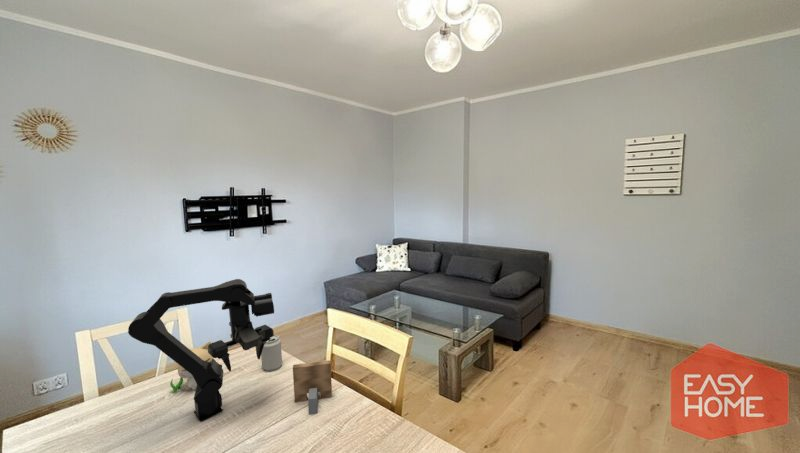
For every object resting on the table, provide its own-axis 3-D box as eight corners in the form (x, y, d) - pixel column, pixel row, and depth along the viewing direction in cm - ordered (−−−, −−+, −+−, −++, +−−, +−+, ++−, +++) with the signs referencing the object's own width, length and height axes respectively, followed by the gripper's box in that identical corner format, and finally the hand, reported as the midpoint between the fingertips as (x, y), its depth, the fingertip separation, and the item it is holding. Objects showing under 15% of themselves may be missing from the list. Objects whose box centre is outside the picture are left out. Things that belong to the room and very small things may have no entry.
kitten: (169, 400, 110) (165, 358, 108) (172, 384, 118) (168, 345, 116) (220, 385, 117) (217, 346, 115) (219, 372, 126) (216, 335, 124)
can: (268, 374, 124) (266, 344, 122) (258, 367, 128) (256, 338, 127) (286, 365, 130) (284, 336, 128) (275, 359, 134) (273, 331, 133)
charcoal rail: (317, 413, 102) (316, 398, 102) (308, 414, 102) (308, 399, 101) (318, 386, 116) (318, 373, 115) (311, 387, 115) (310, 374, 115)
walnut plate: (294, 402, 108) (292, 368, 106) (295, 398, 109) (293, 364, 108) (331, 397, 110) (330, 363, 108) (331, 393, 112) (330, 360, 110)
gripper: (217, 337, 92) (223, 388, 94) (279, 316, 106) (283, 361, 108) (204, 326, 100) (210, 374, 102) (264, 308, 113) (268, 350, 115)
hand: (244, 364), depth 107 cm, fingers open, 9 cm apart
